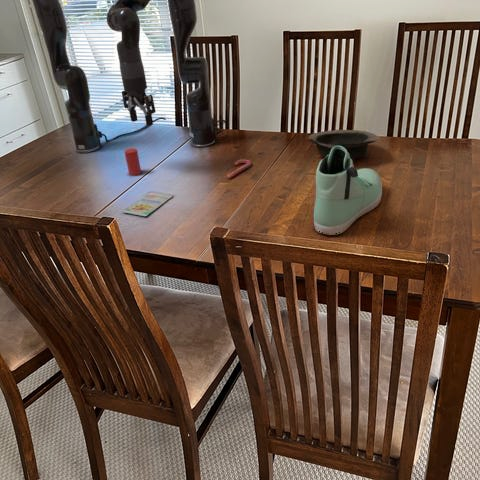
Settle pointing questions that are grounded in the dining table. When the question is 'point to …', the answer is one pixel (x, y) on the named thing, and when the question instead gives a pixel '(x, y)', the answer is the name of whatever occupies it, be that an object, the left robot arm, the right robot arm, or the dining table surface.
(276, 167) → the dining table surface
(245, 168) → the candy cane
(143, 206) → the baking ingredient package
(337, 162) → the sneaker
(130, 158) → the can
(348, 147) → the stone bowl
